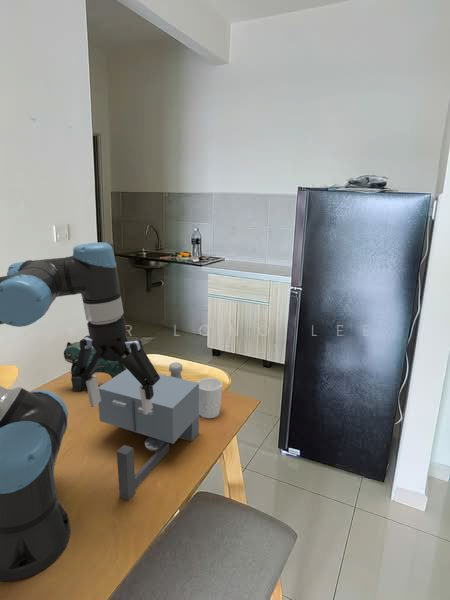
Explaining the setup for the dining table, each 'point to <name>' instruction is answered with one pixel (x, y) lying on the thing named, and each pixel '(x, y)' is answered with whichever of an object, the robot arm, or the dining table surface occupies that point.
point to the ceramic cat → (105, 366)
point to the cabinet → (162, 417)
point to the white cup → (209, 397)
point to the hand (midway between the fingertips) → (121, 407)
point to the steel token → (153, 443)
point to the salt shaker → (175, 370)
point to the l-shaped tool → (126, 469)
